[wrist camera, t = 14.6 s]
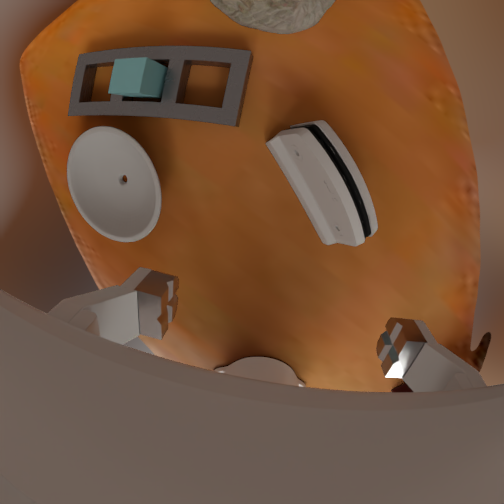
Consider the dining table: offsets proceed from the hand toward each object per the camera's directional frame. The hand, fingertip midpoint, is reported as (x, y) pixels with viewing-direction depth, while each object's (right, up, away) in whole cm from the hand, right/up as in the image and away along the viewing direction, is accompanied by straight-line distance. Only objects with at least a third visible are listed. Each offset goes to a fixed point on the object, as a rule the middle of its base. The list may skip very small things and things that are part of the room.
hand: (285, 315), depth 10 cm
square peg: (-15, +25, +21) cm, 36 cm away
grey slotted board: (-15, +26, +21) cm, 36 cm away
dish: (-20, +13, +28) cm, 37 cm away
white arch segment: (+8, +12, +26) cm, 29 cm away
